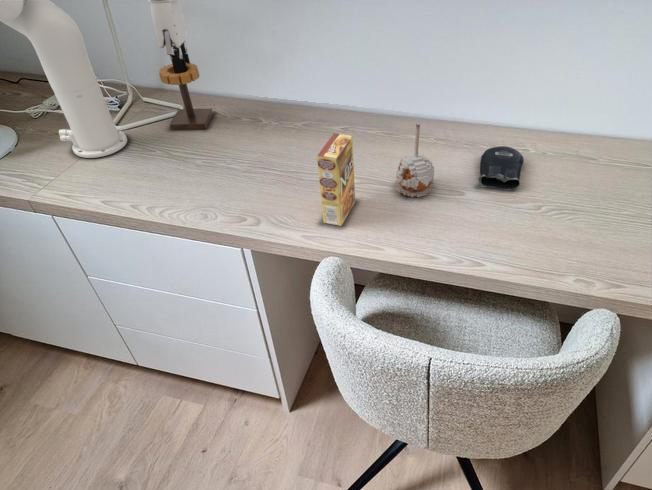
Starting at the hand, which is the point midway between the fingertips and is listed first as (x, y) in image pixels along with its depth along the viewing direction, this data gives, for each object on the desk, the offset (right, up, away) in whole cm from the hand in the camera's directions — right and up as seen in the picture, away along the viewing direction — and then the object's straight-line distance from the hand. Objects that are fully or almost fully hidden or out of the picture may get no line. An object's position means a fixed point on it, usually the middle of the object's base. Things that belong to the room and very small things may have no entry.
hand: (183, 71), depth 126 cm
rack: (0, -11, +6) cm, 12 cm away
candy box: (+41, -39, -25) cm, 62 cm away
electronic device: (+77, -29, -15) cm, 83 cm away
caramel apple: (+57, -33, -19) cm, 69 cm away
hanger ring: (0, -2, -2) cm, 3 cm away
